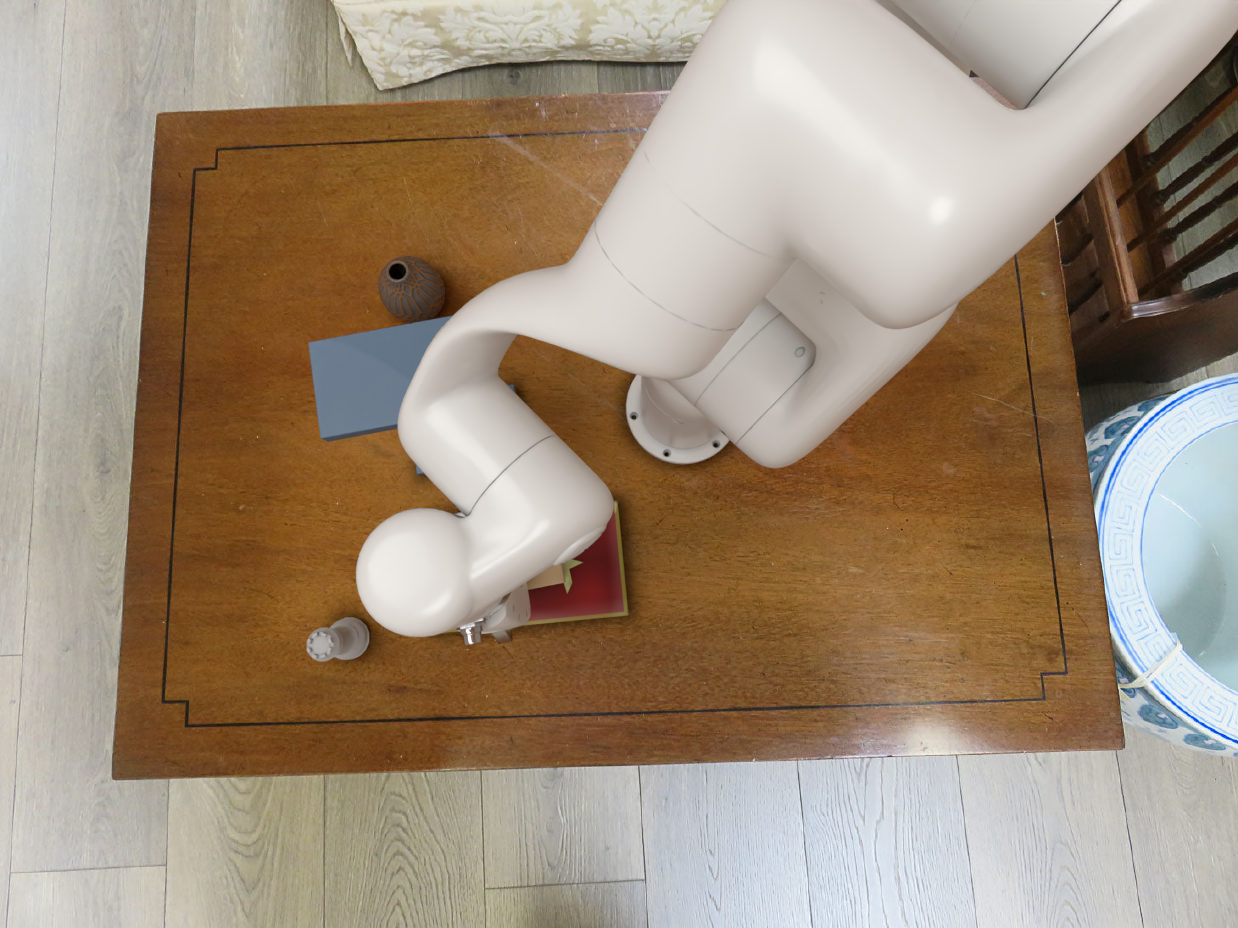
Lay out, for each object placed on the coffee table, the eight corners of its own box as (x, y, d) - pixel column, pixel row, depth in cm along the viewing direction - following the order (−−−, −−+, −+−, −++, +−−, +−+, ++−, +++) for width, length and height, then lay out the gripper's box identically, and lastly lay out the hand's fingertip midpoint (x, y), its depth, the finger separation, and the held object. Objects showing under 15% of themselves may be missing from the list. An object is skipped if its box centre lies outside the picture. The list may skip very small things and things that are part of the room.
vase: (449, 331, 83) (428, 303, 74) (389, 330, 83) (361, 302, 74) (452, 274, 84) (432, 239, 75) (393, 273, 84) (366, 239, 75)
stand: (524, 385, 82) (480, 310, 58) (535, 454, 81) (496, 405, 57) (401, 408, 82) (307, 342, 58) (411, 477, 80) (320, 438, 57)
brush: (560, 539, 75) (549, 535, 65) (567, 581, 74) (558, 583, 65) (455, 560, 75) (429, 558, 65) (462, 602, 74) (437, 607, 65)
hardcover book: (428, 520, 80) (416, 517, 76) (618, 502, 80) (617, 498, 75) (434, 631, 78) (423, 635, 74) (628, 613, 78) (628, 615, 74)
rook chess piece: (355, 667, 78) (324, 678, 70) (321, 644, 78) (286, 652, 70) (379, 631, 78) (350, 638, 70) (345, 608, 78) (313, 613, 71)
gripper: (533, 672, 52) (559, 645, 70) (495, 454, 54) (530, 483, 72) (430, 693, 52) (482, 661, 70) (396, 473, 54) (456, 497, 72)
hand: (506, 570), depth 71 cm, fingers closed on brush, 2 cm apart
